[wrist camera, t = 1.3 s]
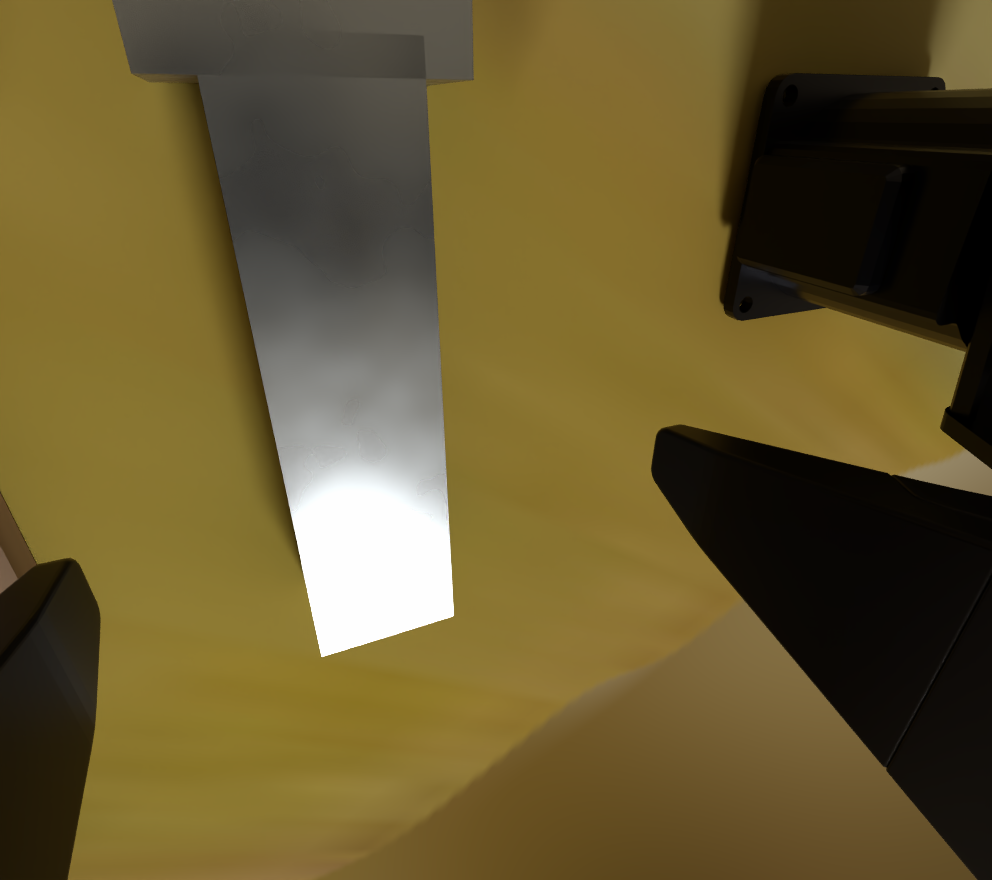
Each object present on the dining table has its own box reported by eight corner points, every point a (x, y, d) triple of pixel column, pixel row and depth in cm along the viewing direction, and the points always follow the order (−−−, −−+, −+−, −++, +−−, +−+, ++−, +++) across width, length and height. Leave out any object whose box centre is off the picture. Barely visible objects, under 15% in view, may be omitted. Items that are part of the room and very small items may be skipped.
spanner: (412, -115, 11) (468, -178, 8) (447, 542, 19) (482, 606, 16) (89, -158, 9) (46, -254, 7) (276, 588, 17) (286, 667, 14)
